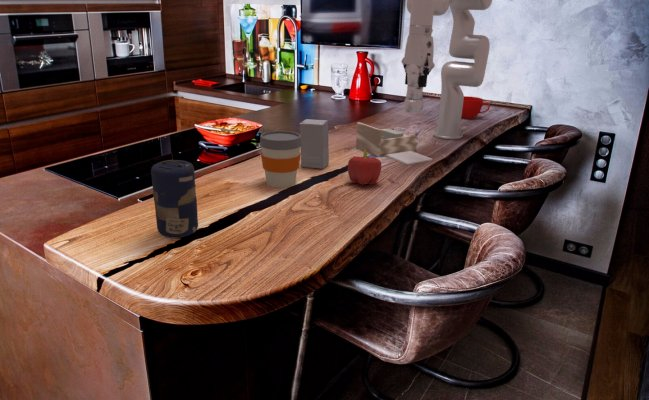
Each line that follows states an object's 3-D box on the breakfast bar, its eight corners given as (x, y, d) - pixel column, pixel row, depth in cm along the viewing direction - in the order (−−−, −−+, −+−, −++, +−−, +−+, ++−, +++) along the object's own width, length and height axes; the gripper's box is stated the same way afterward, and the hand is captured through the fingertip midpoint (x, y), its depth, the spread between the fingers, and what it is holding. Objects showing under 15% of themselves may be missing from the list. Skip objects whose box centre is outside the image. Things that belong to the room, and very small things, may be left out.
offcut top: (389, 135, 196) (390, 129, 196) (402, 139, 191) (403, 133, 190) (382, 136, 194) (382, 130, 193) (395, 140, 189) (396, 134, 188)
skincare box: (328, 164, 172) (330, 119, 166) (322, 170, 165) (323, 124, 160) (306, 161, 174) (306, 117, 168) (298, 167, 168) (299, 121, 162)
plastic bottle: (422, 115, 172) (428, 55, 164) (402, 113, 173) (407, 54, 166) (422, 111, 178) (428, 54, 170) (403, 110, 179) (408, 53, 172)
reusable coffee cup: (285, 192, 145) (285, 143, 139) (252, 184, 151) (250, 136, 145) (309, 181, 155) (309, 134, 149) (277, 173, 161) (276, 128, 155)
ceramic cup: (484, 123, 242) (486, 102, 239) (450, 118, 251) (453, 98, 247) (491, 118, 253) (494, 99, 249) (459, 114, 261) (461, 95, 257)
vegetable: (347, 176, 160) (348, 146, 157) (378, 177, 160) (380, 147, 156) (347, 188, 150) (348, 156, 146) (381, 189, 150) (383, 157, 146)
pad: (410, 152, 189) (410, 150, 189) (432, 160, 180) (432, 158, 180) (385, 156, 183) (385, 154, 183) (407, 164, 174) (407, 163, 174)
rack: (393, 142, 203) (395, 118, 199) (416, 150, 192) (418, 125, 188) (355, 147, 194) (357, 122, 190) (377, 156, 183) (379, 130, 179)
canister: (181, 220, 124) (175, 152, 118) (207, 230, 119) (202, 159, 113) (149, 233, 117) (140, 161, 110) (175, 244, 112) (168, 169, 105)
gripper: (447, 32, 160) (440, 88, 167) (411, 30, 174) (407, 81, 181) (430, 32, 157) (424, 90, 163) (395, 30, 170) (391, 82, 177)
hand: (415, 85), depth 172 cm, fingers closed on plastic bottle, 6 cm apart
